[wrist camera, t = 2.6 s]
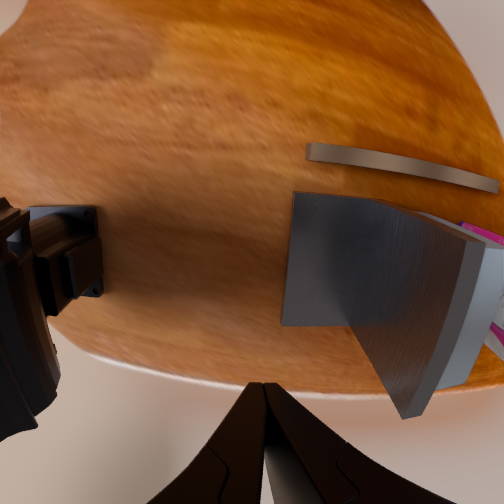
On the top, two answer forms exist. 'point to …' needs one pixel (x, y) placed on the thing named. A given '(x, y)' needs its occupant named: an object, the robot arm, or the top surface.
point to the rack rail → (397, 165)
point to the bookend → (382, 285)
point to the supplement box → (500, 332)
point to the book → (475, 310)
